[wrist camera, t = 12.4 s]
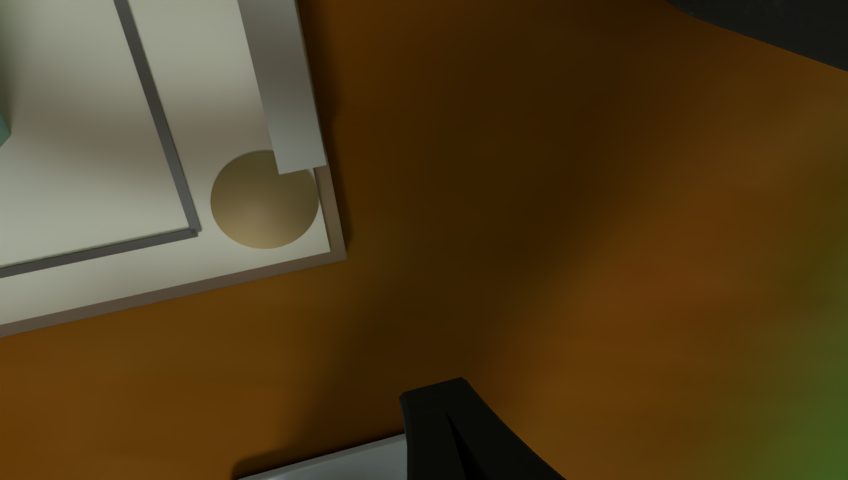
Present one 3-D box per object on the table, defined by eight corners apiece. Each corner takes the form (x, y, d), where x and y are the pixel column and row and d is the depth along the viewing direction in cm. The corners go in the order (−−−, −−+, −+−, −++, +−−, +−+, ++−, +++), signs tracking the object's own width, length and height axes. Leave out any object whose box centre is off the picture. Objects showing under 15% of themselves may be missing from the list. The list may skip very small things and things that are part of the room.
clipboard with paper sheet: (345, 253, 22) (350, 268, 21) (-133, 359, 19) (-149, 382, 18) (259, -183, 15) (261, -187, 15) (-468, -107, 13) (-517, -106, 12)
